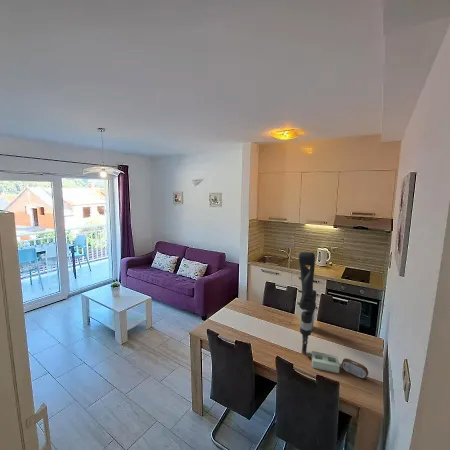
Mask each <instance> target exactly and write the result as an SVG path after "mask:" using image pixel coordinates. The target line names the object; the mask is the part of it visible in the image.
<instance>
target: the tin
mask: <svg viewBox="0 0 450 450" xmlns="http://www.w3.org/2000/svg"><path fill="white" fill-rule="evenodd" d="M341 367H342V369H343V370H344V371H345V372H346V373H348V374H350V375H352V376H355V377H357V378H359V379H362V380H363V379H364V380H365V379H366V378H368V376H369V369H368V368H367V367H366V366H365V365H364V364H361V363H359V362H357V361H355V360H353V359H350V358H343V359H342V361H341Z"/></svg>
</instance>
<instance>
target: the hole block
mask: <svg viewBox="0 0 450 450" xmlns="http://www.w3.org/2000/svg"><path fill="white" fill-rule="evenodd" d="M311 367H312V369H317V370H321V371H322V370H323V371H327V372H331V373H336V374H339V373H340V361H339V356H338V355H334V354H330V353H324V352H318V351H313V350H312V351H311Z"/></svg>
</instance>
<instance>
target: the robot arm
mask: <svg viewBox="0 0 450 450" xmlns="http://www.w3.org/2000/svg"><path fill="white" fill-rule="evenodd" d="M315 254H316V253H314V252H311V251H310V252H309V251H308V252H306V251H305V252H304V251H303V252H302V251H301V252H300V253H299V254H298V264H299V268H300V281H301V297H300V301H299V305H298V306H299V309H301V310H302V312H301V314H300V315H301V317H300V322H299V323H300V324H299V325H300V326H299V333H300V334H301V336H302V340H301V341H302V343H303V351H304V352H306V353H307V350H306V348H308V343H309V336H311V335H312V331H313V330H314V324H315V311H316V306H317V303H316V302H317V301H316V300H317V291H316V290H314V281H315V279H314V277H315V266H316V265H315V264H316V255H315ZM307 266H309V268H308V267H307Z"/></svg>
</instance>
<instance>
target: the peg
mask: <svg viewBox="0 0 450 450" xmlns="http://www.w3.org/2000/svg"><path fill="white" fill-rule="evenodd" d="M301 345H302V347H301V354H302V355H303V356H304V355H305V356H306V355H307V351H308V349H307V348H308V347H307V348H306V352H304V351H303V343H302V344H301Z"/></svg>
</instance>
